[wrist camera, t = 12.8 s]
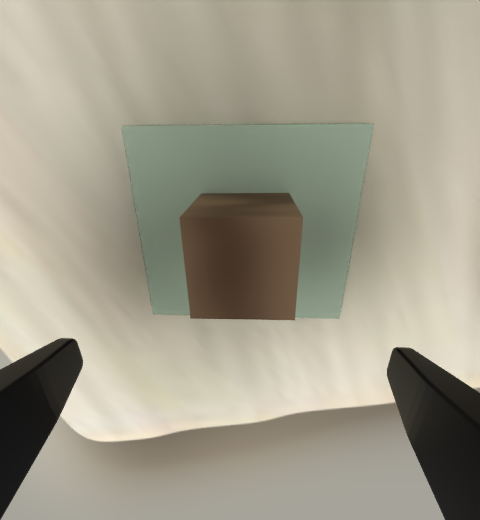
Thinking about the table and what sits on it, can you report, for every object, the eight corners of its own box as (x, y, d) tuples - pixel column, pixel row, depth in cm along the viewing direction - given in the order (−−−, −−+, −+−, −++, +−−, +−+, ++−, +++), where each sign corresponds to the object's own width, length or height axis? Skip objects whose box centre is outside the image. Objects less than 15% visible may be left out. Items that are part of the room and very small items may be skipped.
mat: (368, 124, 15) (373, 123, 14) (336, 311, 20) (339, 318, 19) (127, 126, 15) (121, 125, 14) (156, 307, 20) (153, 314, 19)
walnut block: (288, 192, 15) (303, 217, 11) (284, 271, 18) (294, 319, 13) (201, 193, 16) (179, 217, 11) (206, 271, 18) (190, 318, 13)
